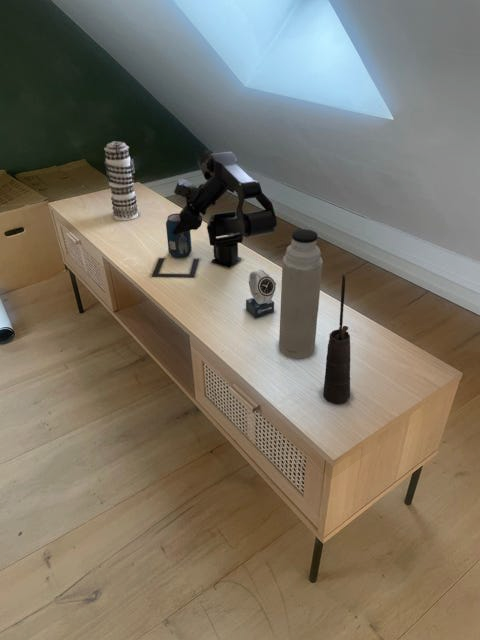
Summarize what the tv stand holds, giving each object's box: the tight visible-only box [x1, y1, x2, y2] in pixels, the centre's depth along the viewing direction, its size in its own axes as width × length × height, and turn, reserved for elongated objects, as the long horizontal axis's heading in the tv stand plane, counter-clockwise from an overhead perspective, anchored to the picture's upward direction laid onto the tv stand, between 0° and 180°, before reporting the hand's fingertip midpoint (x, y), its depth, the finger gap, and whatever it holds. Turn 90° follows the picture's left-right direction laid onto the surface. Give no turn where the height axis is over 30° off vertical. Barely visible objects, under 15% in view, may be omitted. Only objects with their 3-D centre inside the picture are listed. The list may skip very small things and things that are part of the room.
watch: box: [245, 269, 277, 319], centre depth 122 cm, size 6×8×11 cm
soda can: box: [165, 212, 192, 259], centre depth 148 cm, size 7×7×12 cm
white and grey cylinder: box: [103, 140, 139, 221], centre depth 170 cm, size 9×9×25 cm
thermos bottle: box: [278, 228, 324, 360], centre depth 105 cm, size 8×8×28 cm
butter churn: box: [322, 274, 351, 405], centre depth 93 cm, size 9×10×28 cm
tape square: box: [151, 257, 200, 278], centre depth 145 cm, size 11×12×1 cm
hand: (176, 227), depth 147 cm, fingers open, 9 cm apart
